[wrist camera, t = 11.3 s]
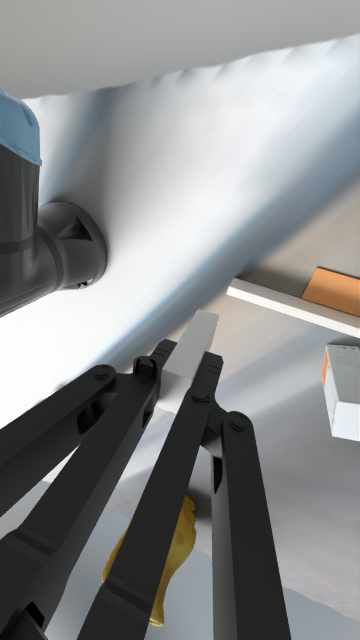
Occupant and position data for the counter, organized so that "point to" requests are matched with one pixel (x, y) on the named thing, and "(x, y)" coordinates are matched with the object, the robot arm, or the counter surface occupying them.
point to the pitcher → (175, 559)
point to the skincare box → (342, 390)
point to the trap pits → (334, 291)
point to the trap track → (296, 307)
